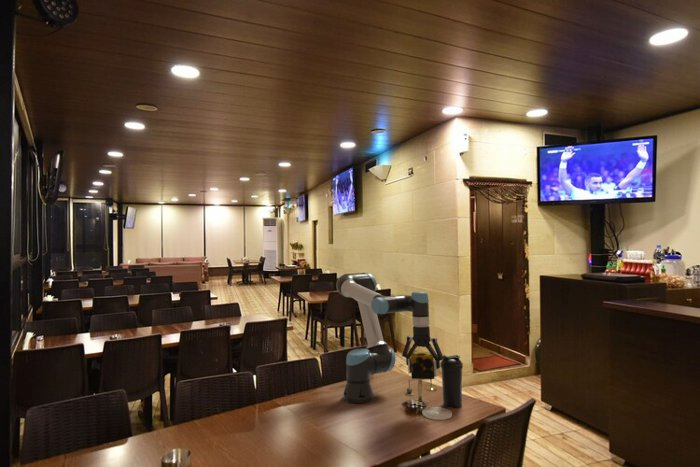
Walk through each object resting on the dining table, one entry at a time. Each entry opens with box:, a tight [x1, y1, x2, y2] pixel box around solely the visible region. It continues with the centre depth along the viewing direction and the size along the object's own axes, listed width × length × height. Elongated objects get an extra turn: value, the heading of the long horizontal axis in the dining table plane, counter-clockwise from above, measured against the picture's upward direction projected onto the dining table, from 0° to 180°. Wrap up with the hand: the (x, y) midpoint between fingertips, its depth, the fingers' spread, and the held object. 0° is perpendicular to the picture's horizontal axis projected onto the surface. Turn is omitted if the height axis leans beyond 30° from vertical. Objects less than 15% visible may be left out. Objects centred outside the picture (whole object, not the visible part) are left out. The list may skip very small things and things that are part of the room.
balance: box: [403, 377, 437, 406], centre depth 199 cm, size 16×5×14 cm, turn 59°
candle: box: [410, 351, 436, 380], centre depth 188 cm, size 10×10×10 cm
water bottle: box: [440, 354, 464, 409], centre depth 197 cm, size 10×10×23 cm
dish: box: [422, 406, 453, 421], centre depth 186 cm, size 13×13×1 cm
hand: (423, 374), depth 188 cm, fingers closed on candle, 12 cm apart
